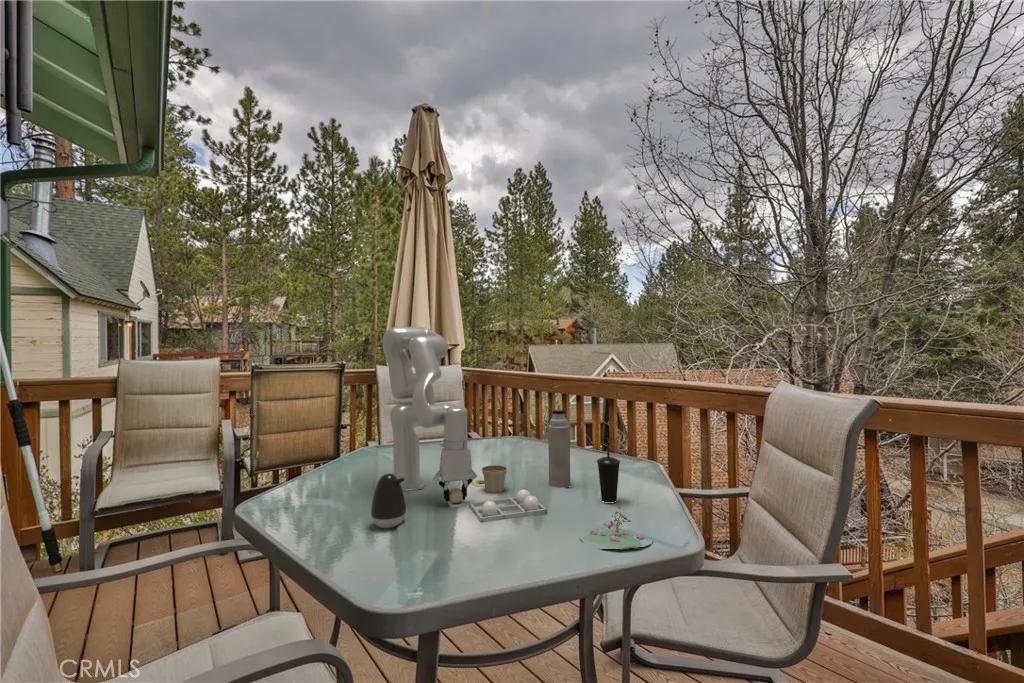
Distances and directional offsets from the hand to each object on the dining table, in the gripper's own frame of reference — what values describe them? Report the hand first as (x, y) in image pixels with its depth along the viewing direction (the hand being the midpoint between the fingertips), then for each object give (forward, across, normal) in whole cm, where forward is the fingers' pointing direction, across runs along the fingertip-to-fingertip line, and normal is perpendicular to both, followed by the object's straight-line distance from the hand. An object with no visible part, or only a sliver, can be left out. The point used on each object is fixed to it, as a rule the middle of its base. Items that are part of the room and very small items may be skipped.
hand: (455, 499), depth 155 cm
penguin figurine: (+3, -22, -9) cm, 24 cm away
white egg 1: (+1, +8, -15) cm, 17 cm away
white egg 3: (+1, +21, -15) cm, 26 cm away
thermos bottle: (+2, +41, +8) cm, 42 cm away
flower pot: (+3, +16, +9) cm, 19 cm away
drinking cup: (+1, +49, -14) cm, 51 cm away
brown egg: (+1, 0, 0) cm, 1 cm away
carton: (+2, +14, -11) cm, 18 cm away
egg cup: (+2, 0, -1) cm, 3 cm away
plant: (+2, +37, -37) cm, 52 cm away
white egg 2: (+1, +21, -8) cm, 23 cm away
